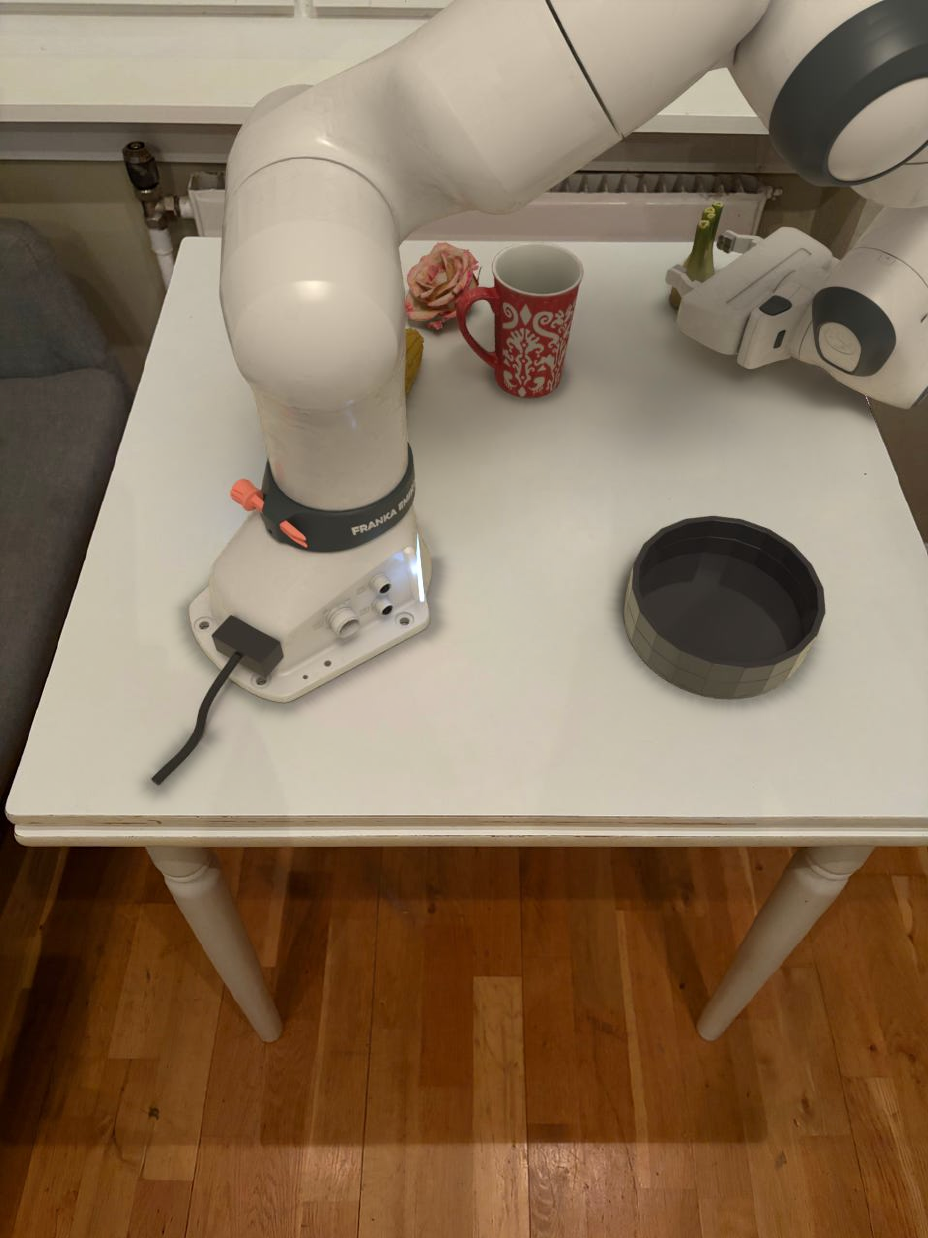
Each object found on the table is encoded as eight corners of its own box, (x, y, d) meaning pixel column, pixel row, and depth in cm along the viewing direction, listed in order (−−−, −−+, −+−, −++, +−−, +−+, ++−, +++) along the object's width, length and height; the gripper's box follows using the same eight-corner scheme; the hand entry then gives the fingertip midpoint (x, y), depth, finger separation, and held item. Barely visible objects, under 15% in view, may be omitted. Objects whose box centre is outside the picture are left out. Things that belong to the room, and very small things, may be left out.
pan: (736, 734, 78) (752, 703, 74) (586, 621, 84) (593, 586, 80) (842, 621, 85) (861, 587, 81) (695, 524, 91) (707, 488, 87)
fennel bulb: (693, 288, 113) (716, 193, 103) (722, 309, 111) (748, 214, 101) (656, 304, 111) (676, 209, 101) (685, 326, 109) (708, 231, 99)
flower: (467, 266, 112) (429, 224, 106) (516, 289, 107) (479, 247, 100) (420, 334, 113) (379, 296, 107) (466, 361, 108) (426, 323, 101)
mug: (556, 344, 107) (568, 235, 96) (579, 397, 102) (595, 289, 91) (447, 359, 105) (446, 250, 94) (465, 414, 100) (466, 305, 89)
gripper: (863, 243, 102) (756, 192, 108) (754, 326, 93) (644, 267, 99) (843, 293, 107) (742, 242, 113) (738, 377, 99) (635, 317, 104)
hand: (695, 254), depth 106 cm, fingers open, 8 cm apart
